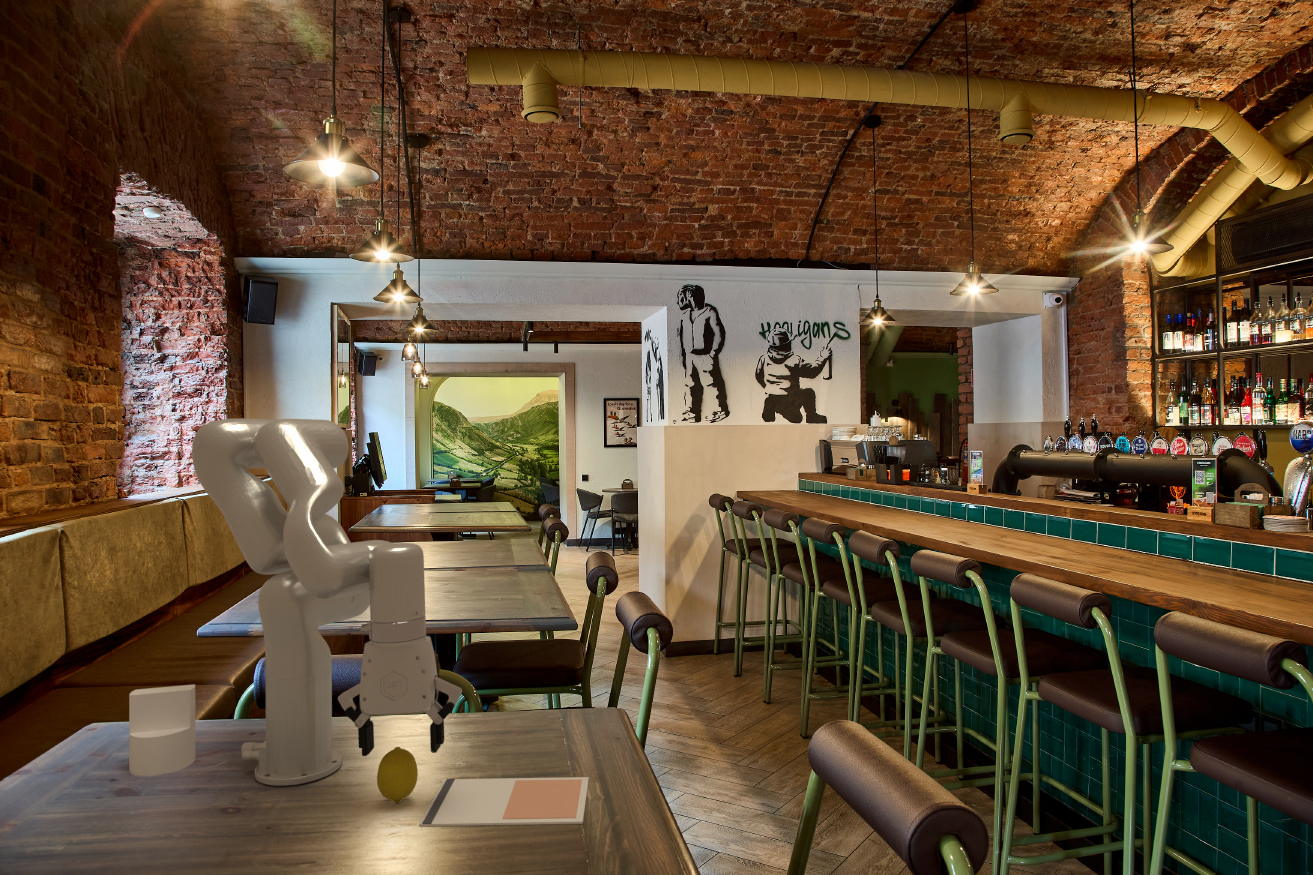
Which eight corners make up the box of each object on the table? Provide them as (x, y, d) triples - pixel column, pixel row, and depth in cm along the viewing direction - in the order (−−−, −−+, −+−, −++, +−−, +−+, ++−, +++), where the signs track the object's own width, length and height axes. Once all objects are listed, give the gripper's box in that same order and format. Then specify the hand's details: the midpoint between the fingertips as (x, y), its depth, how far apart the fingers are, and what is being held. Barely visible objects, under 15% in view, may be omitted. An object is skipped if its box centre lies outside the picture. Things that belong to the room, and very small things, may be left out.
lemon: (423, 795, 115) (423, 740, 115) (408, 812, 109) (407, 755, 109) (387, 793, 115) (387, 739, 115) (370, 811, 110) (369, 754, 110)
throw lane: (419, 826, 105) (419, 823, 105) (444, 781, 119) (444, 778, 119) (582, 823, 106) (582, 820, 106) (588, 778, 120) (588, 776, 120)
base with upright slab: (201, 750, 132) (201, 678, 132) (187, 771, 123) (187, 695, 123) (139, 757, 129) (139, 684, 129) (121, 779, 120) (121, 701, 121)
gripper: (327, 639, 108) (330, 764, 108) (453, 633, 109) (457, 758, 108) (347, 627, 116) (350, 744, 115) (464, 622, 116) (468, 738, 116)
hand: (402, 750), depth 112 cm, fingers open, 9 cm apart
